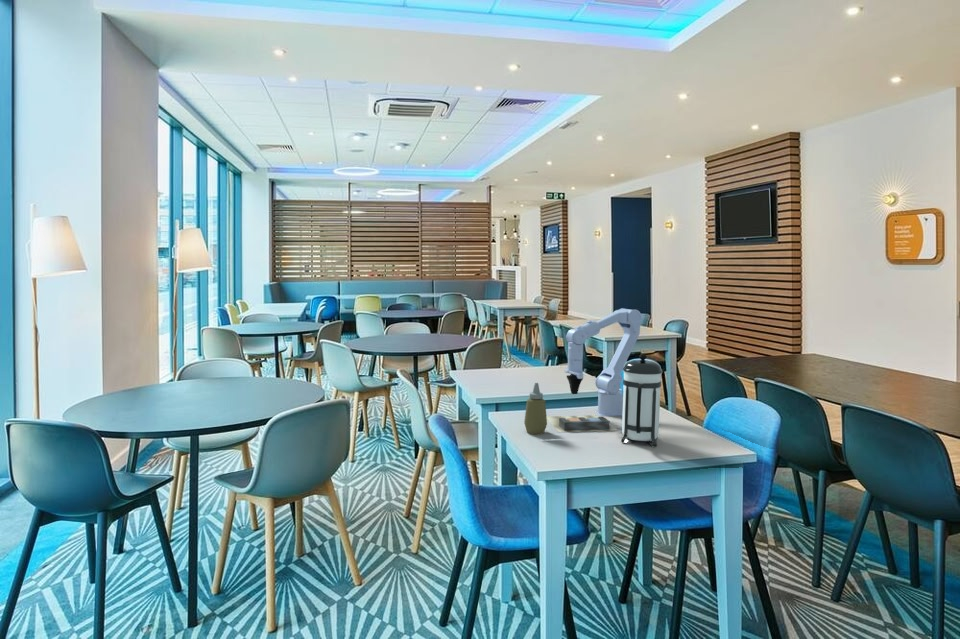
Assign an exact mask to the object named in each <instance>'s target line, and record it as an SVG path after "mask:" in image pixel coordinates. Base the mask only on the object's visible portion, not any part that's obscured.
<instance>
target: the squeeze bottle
mask: <svg viewBox="0 0 960 639" xmlns="http://www.w3.org/2000/svg"><path fill="white" fill-rule="evenodd" d="M547 417H548V416H547V406H546V400H545V399H544V394H543V392H541V391H540V386H539V383H538V382H535V383H534V386H533V389H532V391H531V392H529V398H528V399H527V400H526V406H525V414H524V426H525V430H526V433H527V434H530V435H542V434H545V430H546V428H547V426H548V421H547Z"/></svg>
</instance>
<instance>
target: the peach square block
mask: <svg viewBox="0 0 960 639" xmlns="http://www.w3.org/2000/svg"><path fill="white" fill-rule="evenodd" d="M567 420H568V421H581V420H579V419H578V418H567Z"/></svg>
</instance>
